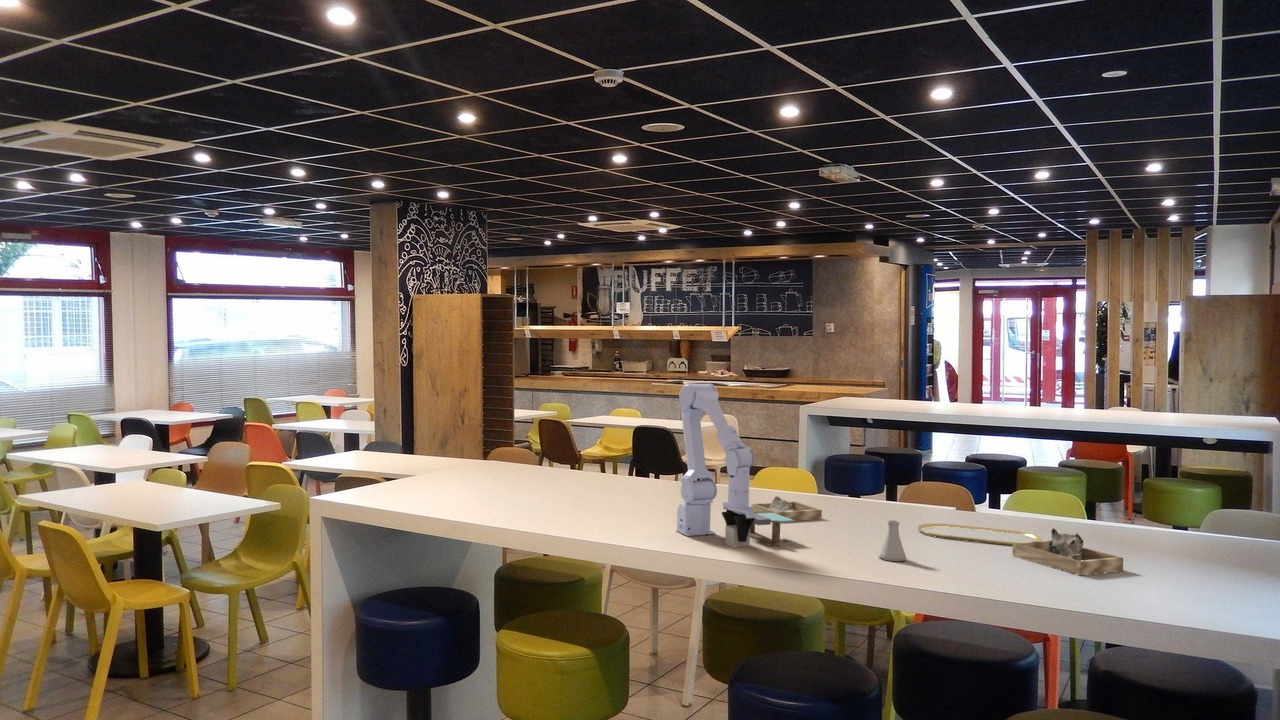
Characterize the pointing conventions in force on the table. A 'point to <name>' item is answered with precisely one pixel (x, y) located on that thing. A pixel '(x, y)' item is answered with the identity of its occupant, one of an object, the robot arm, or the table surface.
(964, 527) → the serving platter
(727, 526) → the light grey cube
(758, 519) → the trapdoor
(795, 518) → the square wooden tray
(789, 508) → the rock sample
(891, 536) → the flask
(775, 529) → the frame
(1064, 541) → the grey lumpy piece
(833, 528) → the table surface
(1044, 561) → the shallow wooden tray
